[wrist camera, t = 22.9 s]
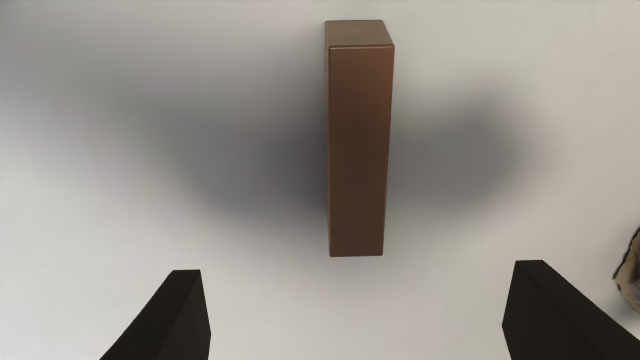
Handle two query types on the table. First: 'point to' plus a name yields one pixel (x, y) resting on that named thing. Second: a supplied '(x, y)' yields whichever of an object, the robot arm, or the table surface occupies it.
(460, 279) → the table surface
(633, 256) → the forked tree stump
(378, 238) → the wooden block
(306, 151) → the table surface
